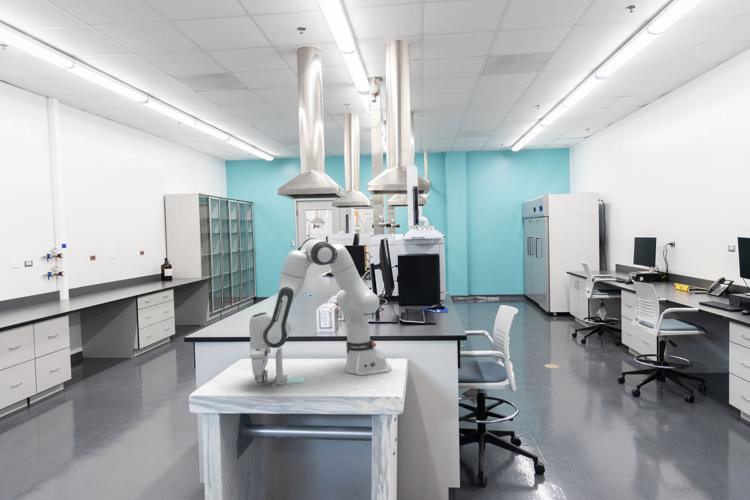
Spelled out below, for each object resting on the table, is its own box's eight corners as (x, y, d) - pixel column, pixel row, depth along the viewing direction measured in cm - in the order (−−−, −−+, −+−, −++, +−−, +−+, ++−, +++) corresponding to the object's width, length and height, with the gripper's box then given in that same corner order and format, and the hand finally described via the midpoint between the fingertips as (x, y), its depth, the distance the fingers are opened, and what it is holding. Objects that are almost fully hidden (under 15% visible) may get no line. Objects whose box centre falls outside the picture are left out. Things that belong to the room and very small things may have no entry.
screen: (286, 376, 212) (285, 347, 212) (284, 385, 200) (282, 354, 200) (275, 377, 212) (274, 347, 211) (272, 385, 200) (271, 354, 199)
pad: (303, 378, 210) (303, 376, 210) (302, 383, 203) (302, 381, 203) (288, 378, 209) (288, 377, 209) (286, 384, 202) (286, 382, 202)
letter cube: (267, 380, 207) (267, 369, 207) (266, 384, 202) (265, 373, 202) (256, 381, 207) (256, 370, 206) (254, 385, 202) (254, 373, 201)
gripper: (256, 343, 214) (257, 372, 214) (249, 355, 193) (250, 387, 194) (270, 343, 214) (271, 371, 215) (264, 354, 194) (265, 386, 195)
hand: (261, 379), depth 204 cm, fingers closed on letter cube, 5 cm apart
